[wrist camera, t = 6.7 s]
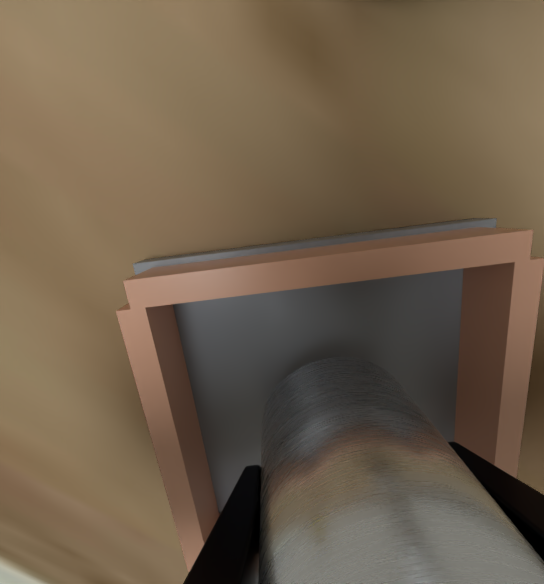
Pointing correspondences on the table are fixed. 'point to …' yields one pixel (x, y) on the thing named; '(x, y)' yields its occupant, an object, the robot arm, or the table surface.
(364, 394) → the steel billet
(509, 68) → the table surface
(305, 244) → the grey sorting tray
